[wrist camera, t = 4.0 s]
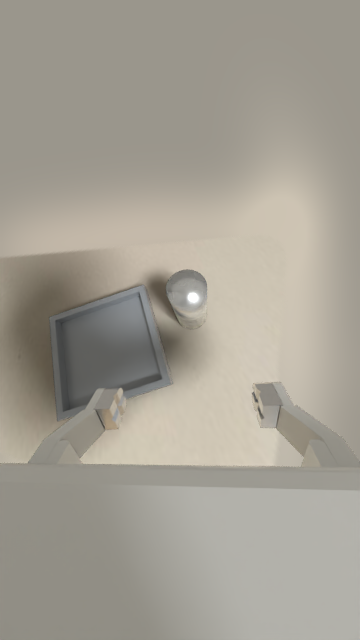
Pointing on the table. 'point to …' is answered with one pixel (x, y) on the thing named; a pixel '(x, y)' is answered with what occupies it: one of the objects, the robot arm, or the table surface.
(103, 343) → the parts tray
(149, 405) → the table surface
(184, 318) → the glossy grey cylinder
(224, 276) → the table surface
